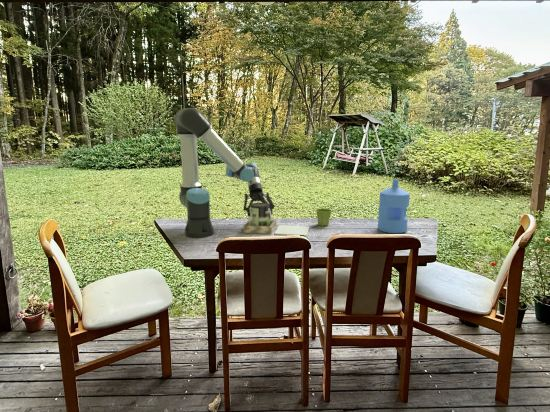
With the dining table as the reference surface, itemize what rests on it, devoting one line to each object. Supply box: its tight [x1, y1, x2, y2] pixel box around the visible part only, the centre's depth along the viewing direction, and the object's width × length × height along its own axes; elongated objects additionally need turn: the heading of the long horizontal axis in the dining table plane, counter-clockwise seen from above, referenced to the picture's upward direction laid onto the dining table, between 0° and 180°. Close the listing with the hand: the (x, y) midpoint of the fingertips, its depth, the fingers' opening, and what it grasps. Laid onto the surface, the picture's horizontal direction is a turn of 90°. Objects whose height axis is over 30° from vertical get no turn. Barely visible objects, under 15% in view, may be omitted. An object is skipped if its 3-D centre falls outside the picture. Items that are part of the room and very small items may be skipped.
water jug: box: [377, 179, 411, 234], centre depth 210 cm, size 16×16×28 cm
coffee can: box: [250, 202, 270, 227], centre depth 211 cm, size 10×10×14 cm
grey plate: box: [274, 224, 310, 237], centre depth 210 cm, size 17×17×1 cm
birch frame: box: [242, 218, 277, 235], centre depth 213 cm, size 15×15×4 cm
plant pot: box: [315, 208, 333, 227], centre depth 222 cm, size 9×9×9 cm
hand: (261, 220), depth 209 cm, fingers closed on coffee can, 10 cm apart
